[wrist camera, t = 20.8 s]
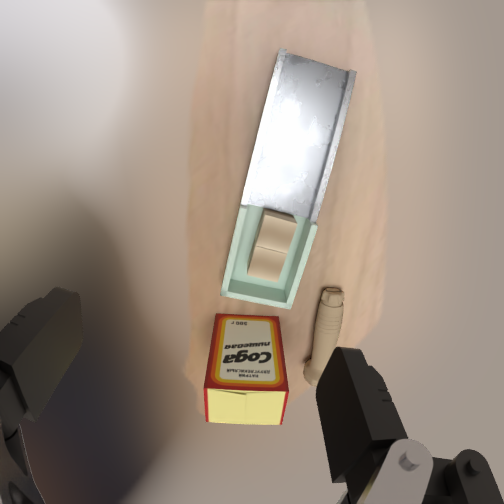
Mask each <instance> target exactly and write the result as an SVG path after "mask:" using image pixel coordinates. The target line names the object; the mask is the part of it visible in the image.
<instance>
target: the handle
mask: <svg viewBox="0 0 504 504" xmlns="http://www.w3.org/2000/svg"><path fill="white" fill-rule="evenodd" d="M321 299H322V300H321V302H320V305H319V308H318V313H317V318H316V324H315V332H314V342H313V351H312V358H311V359H310V360H308V361H307V362H306V364H305V366H304V371H303V374H304V378H305V380H306V381H307V382H308V383H309V384H310V385H312V386H315V387H317V384H318V381H319V379H320V377H321V375H322V373H323V371H324V369H325V367H326V365H327V363H328V361H329V359H330V356H331V354H332V352H333V350H334V349H335V347H336V344H337V340H338V336H339V333H340V329H341V323H342V317H343V302H342V301H343V300H344V292H343V291H340V290H338V289H337V288H326V290H324V291H323V293H322V297H321Z"/></svg>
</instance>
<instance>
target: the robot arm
mask: <svg viewBox="0 0 504 504" xmlns="http://www.w3.org/2000/svg"><path fill="white" fill-rule="evenodd" d="M82 326H83V325H82V315H81V304H80V296H79V294H78V293H77V292H73V291H70V290H67V289H64V288H61V287H55V288H54V289H52V290H51V291H50V292H49V293H48V295H46V296H45V297H44V298H39V299H36V300H34V301H32V302H30V303H28V304H27V305H26V306H25V307H24V308H23V309H22V310H21V311H20V312H19V313H18V315H17V316H15V317H14V318H13V319H12V320H11V321H10V324H9V323H8V324H7V325H6V326H5V327H4V328H3V329H2V330H1V332H0V504H45V502H44V500H43V498H42V496H41V494H40V492H39V490H38V489H37V487H36V485H35V482H34V480H33V476H32V473H31V469H30V466H29V462H28V458H27V454H26V450H25V445H24V441H23V436H22V431H21V427H20V425H19V423H20V421H21V420H22V418H23V417H25V418H27V419H29V420H31V421H33V422H35V423H36V421H37V419H38V418H39V416H40V414H41V412H42V411H43V408H44V407H45V405H46V403H47V402H48V400H49V398H50V397H51V395H52V393H53V392H54V390H55V388H56V386H57V385H58V383H59V382H60V380H61V378H62V377H63V375H64V373H65V372H66V370H67V368H68V367H69V365H70V364H71V362H72V360H73V359H74V357H75V356H76V354H77V353H78V351H79V349H80V347H81V344H82V339H83V327H82ZM387 390H388V389H387V387H386V384H385V382H384V380H383V378H382V376H381V375H380V374H379V373H378V372H377V371H376V370H375V369H374V368H373V367H372V366H368V364H367V362H366V360H365V358H364V355H363V353H362V351H361V350H360V349H354V348H345V347H336V348H335V349H334V350H333V352H332V354H331V356H330V359H329V361H328V363H327V365H326V367H325V369H324V371H323V373H322V375H321V377H320V379H319V381H318V384H317V388H316V401H317V406H318V411H319V416H320V421H321V426H322V431H323V435H324V441H325V446H326V452H327V457H328V462H329V468H330V473H331V478H332V483H343V482H346V484H347V490H346V491H345V492H344V493H343V495H342V496H341V498H340V499H339V501H338V502H337V504H504V502H503V499H502V497H501V494H500V491H499V489H498V486H497V484H496V482H495V479H494V477H493V474H492V472H491V469H490V467H489V465H488V462H487V461H486V459H485V458H484V457H483V456H482V455H481V454H480V453H479V452H477V451H475V450H470V449H467V450H463V451H461V452H460V453H459V454H458V455H457V456H456V457H455V458H454V459H453V460H449V459H442V458H435V457H432V456H431V454H430V452H429V451H428V449H427V448H426V447H425V446H424V445H423V444H421V443H419V442H418V441H415V440H412V439H408V437H407V434H406V432H405V429H404V427H403V424H402V422H401V419H400V417H399V415H398V412H397V410H396V408H395V405H394V403H393V402H392V398H391V396H390V394H389V392H387Z"/></svg>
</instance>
